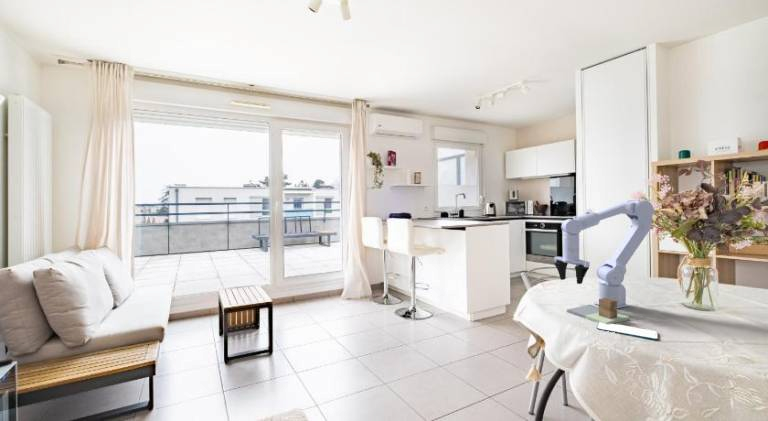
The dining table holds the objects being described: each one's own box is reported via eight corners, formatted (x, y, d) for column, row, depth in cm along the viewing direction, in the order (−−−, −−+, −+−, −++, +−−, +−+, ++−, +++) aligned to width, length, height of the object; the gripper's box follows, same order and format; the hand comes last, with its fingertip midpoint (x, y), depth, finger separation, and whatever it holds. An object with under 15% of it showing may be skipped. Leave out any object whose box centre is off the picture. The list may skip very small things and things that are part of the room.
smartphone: (596, 331, 113) (658, 342, 103) (596, 328, 113) (658, 339, 103) (599, 323, 119) (657, 333, 109) (599, 321, 119) (657, 331, 109)
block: (605, 313, 124) (605, 297, 124) (617, 317, 121) (617, 300, 120) (598, 315, 123) (598, 299, 123) (609, 318, 119) (610, 302, 119)
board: (589, 307, 135) (589, 304, 135) (629, 319, 121) (629, 316, 121) (566, 312, 130) (566, 309, 130) (605, 325, 116) (605, 322, 116)
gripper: (549, 247, 143) (549, 278, 144) (580, 251, 130) (580, 286, 131) (561, 245, 146) (560, 276, 147) (593, 250, 133) (593, 284, 133)
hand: (571, 281), depth 139 cm, fingers open, 7 cm apart
